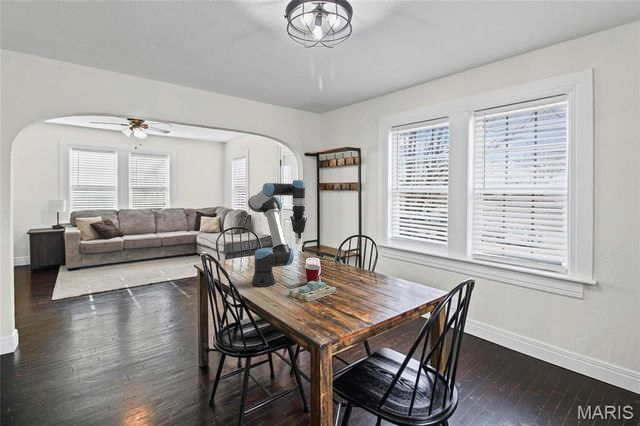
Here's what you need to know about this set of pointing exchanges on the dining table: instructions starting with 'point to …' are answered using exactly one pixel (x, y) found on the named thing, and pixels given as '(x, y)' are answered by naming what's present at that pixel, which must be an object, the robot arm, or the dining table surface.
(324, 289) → the board
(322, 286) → the button
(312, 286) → the button
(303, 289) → the button
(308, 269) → the plastic cup
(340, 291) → the dining table surface
